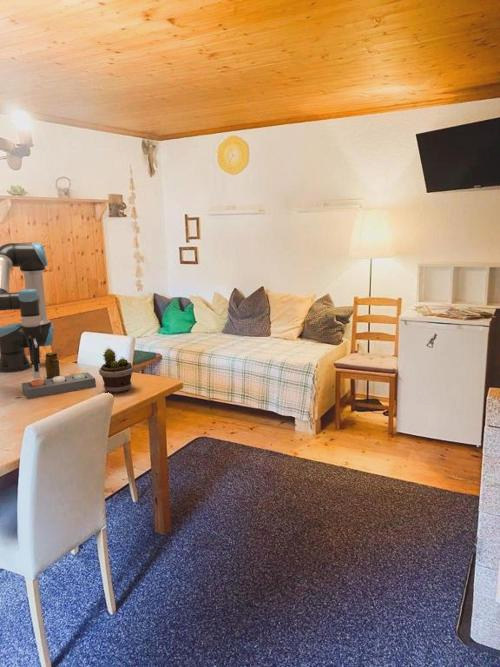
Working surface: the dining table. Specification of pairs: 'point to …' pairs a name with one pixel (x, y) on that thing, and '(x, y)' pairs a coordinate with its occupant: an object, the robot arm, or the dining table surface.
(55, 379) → the button white
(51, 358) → the condiment
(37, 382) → the button rust
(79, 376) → the button sage
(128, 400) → the dining table surface
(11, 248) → the robot arm
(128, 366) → the flowerpot
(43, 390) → the console
